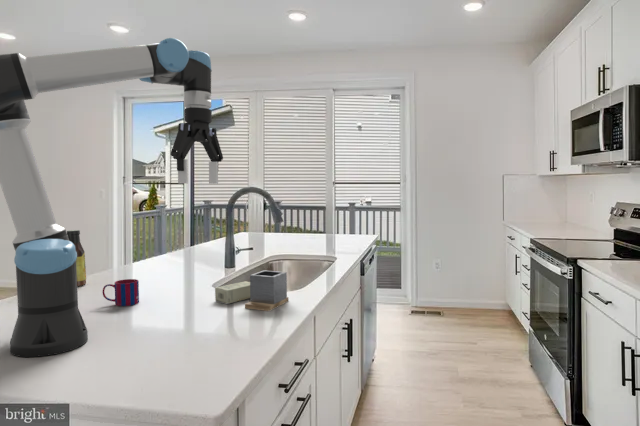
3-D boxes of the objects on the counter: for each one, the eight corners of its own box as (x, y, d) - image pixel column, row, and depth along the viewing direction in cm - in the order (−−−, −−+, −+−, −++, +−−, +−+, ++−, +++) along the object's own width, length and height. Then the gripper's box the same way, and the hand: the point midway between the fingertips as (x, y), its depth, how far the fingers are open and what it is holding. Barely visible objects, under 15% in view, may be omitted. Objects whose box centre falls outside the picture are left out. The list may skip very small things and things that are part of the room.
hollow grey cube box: (274, 304, 133) (273, 277, 132) (250, 301, 136) (250, 275, 136) (286, 298, 140) (286, 272, 140) (264, 295, 143) (263, 270, 143)
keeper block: (268, 311, 130) (268, 289, 130) (244, 308, 133) (244, 287, 133) (288, 301, 141) (288, 281, 141) (265, 298, 144) (265, 279, 144)
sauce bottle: (90, 284, 166) (87, 230, 164) (72, 288, 160) (70, 231, 159) (79, 282, 169) (77, 229, 168) (62, 285, 164) (60, 230, 162)
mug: (137, 305, 137) (137, 282, 137) (101, 308, 135) (100, 285, 134) (140, 299, 144) (139, 278, 143) (105, 302, 141) (104, 280, 141)
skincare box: (227, 304, 137) (258, 296, 147) (226, 290, 137) (258, 283, 146) (214, 301, 142) (245, 293, 151) (214, 287, 141) (245, 280, 151)
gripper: (178, 100, 117) (179, 183, 118) (234, 114, 140) (234, 183, 141) (155, 102, 120) (157, 183, 121) (214, 115, 143) (214, 183, 144)
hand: (199, 183), depth 131 cm, fingers open, 13 cm apart
